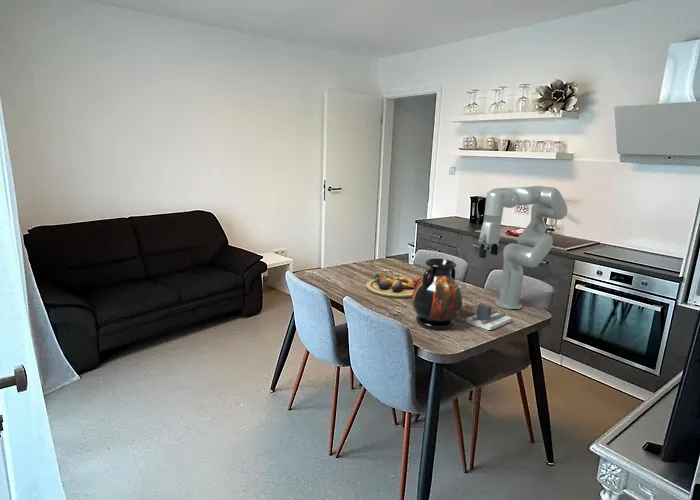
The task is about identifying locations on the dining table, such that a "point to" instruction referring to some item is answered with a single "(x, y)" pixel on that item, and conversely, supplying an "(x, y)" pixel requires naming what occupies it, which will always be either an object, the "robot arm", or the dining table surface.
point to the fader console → (489, 320)
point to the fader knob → (484, 311)
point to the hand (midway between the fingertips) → (488, 256)
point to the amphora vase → (437, 296)
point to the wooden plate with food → (392, 286)
